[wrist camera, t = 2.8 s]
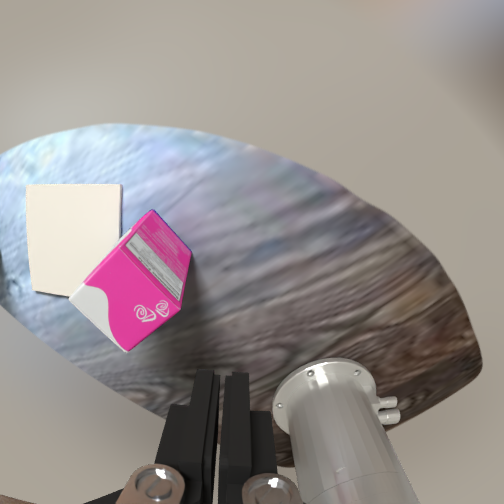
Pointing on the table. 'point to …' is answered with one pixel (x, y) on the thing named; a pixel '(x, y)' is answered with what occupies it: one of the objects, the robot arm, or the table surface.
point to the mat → (69, 232)
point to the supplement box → (136, 283)
